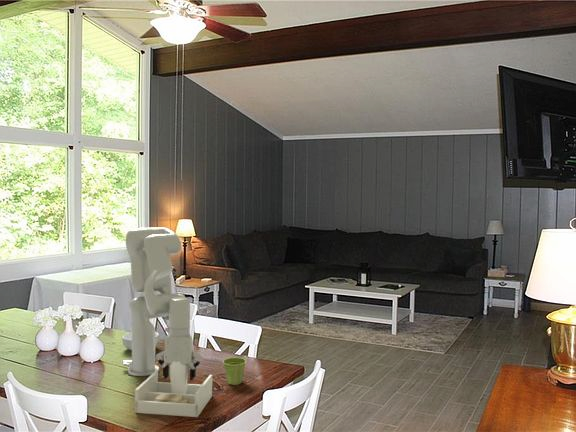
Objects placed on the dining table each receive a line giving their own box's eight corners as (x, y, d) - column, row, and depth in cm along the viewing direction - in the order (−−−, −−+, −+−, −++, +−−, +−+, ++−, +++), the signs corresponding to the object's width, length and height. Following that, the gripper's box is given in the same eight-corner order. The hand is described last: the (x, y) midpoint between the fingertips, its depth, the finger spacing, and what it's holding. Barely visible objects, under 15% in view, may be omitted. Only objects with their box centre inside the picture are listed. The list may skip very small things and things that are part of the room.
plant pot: (226, 388, 212) (226, 366, 212) (219, 380, 221) (219, 358, 220) (249, 385, 216) (249, 363, 215) (241, 377, 224) (242, 356, 224)
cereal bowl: (131, 343, 269) (131, 329, 269) (164, 345, 267) (164, 331, 266) (115, 353, 252) (115, 338, 252) (150, 356, 250) (150, 340, 249)
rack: (135, 412, 188) (135, 389, 187) (155, 392, 207) (155, 371, 206) (197, 417, 185) (197, 393, 185) (212, 395, 204) (212, 374, 204)
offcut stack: (150, 412, 189) (151, 398, 189) (156, 406, 194) (156, 393, 194) (184, 414, 188) (184, 400, 188) (189, 408, 193) (189, 395, 192)
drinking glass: (184, 404, 196) (184, 362, 195) (166, 402, 197) (166, 361, 196) (191, 397, 203) (191, 357, 202) (173, 395, 204) (174, 355, 203)
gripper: (152, 333, 196) (152, 380, 197) (199, 335, 194) (199, 383, 194) (160, 328, 203) (159, 373, 204) (205, 330, 201) (205, 376, 202)
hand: (179, 378), depth 199 cm, fingers open, 9 cm apart
